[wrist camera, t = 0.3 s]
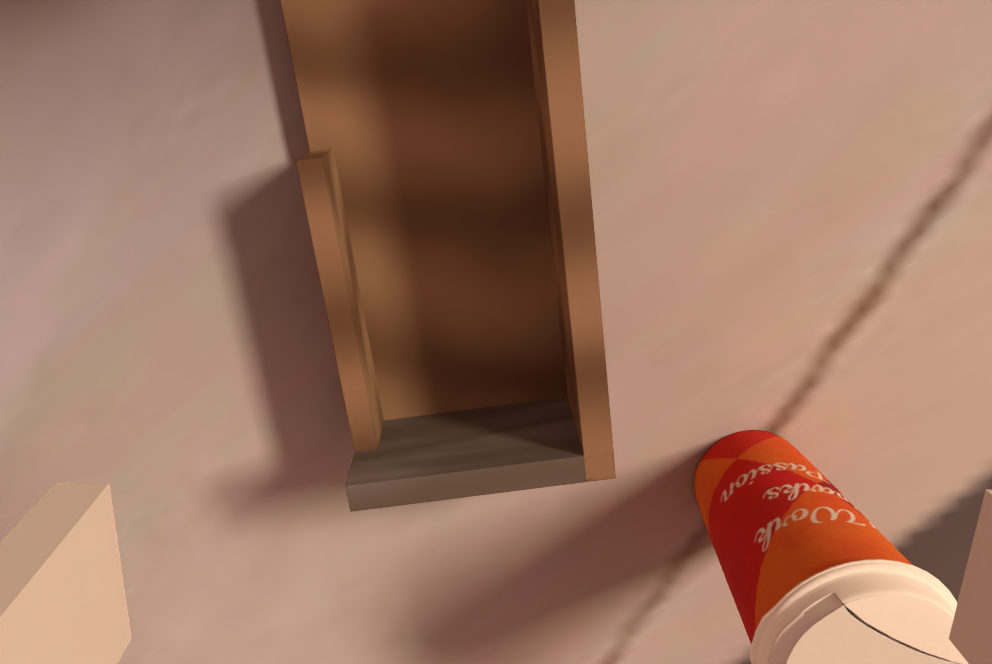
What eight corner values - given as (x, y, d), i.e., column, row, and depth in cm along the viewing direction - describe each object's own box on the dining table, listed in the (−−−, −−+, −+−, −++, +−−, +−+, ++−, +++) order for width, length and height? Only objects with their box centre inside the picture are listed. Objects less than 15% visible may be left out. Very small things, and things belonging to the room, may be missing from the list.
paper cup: (844, 426, 41) (1021, 604, 28) (792, 555, 44) (932, 775, 31) (696, 395, 41) (807, 563, 27) (651, 528, 43) (732, 742, 30)
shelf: (275, -51, 34) (228, -75, 27) (545, -87, 33) (563, -119, 27) (369, 436, 41) (350, 511, 34) (591, 408, 41) (615, 478, 34)
